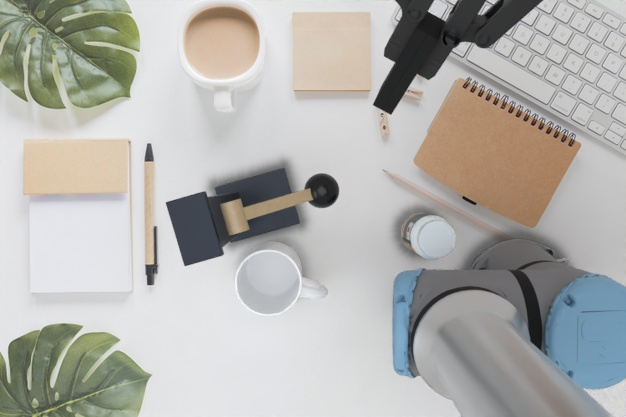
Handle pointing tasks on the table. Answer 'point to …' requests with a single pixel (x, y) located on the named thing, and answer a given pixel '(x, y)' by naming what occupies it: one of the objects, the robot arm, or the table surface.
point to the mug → (273, 280)
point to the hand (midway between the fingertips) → (386, 99)
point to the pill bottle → (428, 235)
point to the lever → (281, 202)
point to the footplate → (261, 191)
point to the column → (200, 226)
